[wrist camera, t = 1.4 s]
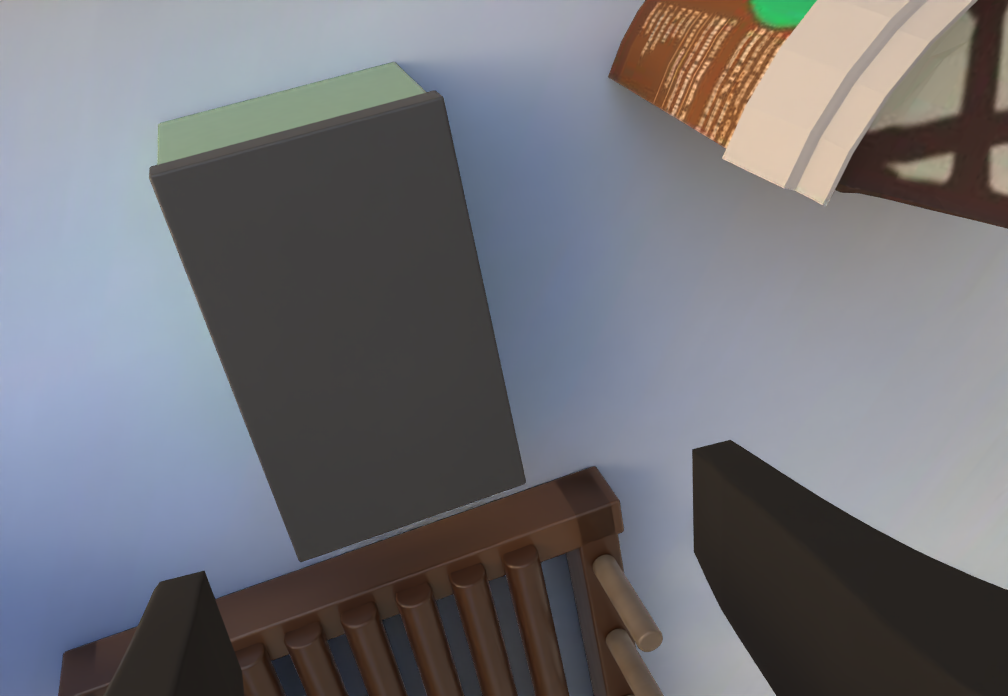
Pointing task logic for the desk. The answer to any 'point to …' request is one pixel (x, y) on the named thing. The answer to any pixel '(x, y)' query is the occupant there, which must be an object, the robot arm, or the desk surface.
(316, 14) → the desk surface
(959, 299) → the desk surface
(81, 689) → the dish rack
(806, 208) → the desk surface
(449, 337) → the box
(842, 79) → the food container
